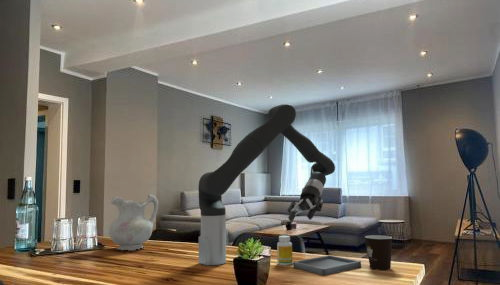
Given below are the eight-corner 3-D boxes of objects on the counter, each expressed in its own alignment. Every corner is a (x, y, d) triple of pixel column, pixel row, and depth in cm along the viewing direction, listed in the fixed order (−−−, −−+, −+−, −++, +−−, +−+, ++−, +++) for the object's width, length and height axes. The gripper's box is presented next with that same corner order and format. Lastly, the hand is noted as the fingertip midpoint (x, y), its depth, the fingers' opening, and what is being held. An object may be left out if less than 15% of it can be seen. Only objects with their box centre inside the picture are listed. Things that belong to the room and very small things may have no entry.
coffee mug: (396, 271, 114) (394, 239, 115) (368, 270, 115) (366, 238, 117) (389, 263, 125) (388, 234, 126) (364, 262, 127) (362, 234, 128)
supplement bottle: (275, 263, 129) (274, 235, 130) (288, 261, 131) (287, 234, 132) (281, 266, 124) (280, 237, 125) (295, 264, 126) (294, 236, 127)
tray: (323, 275, 111) (323, 269, 111) (293, 267, 122) (293, 261, 122) (361, 266, 121) (360, 261, 121) (329, 260, 132) (329, 255, 132)
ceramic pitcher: (147, 245, 180) (146, 195, 184) (165, 247, 165) (163, 192, 169) (103, 251, 166) (103, 197, 170) (118, 253, 151) (117, 194, 156)
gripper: (293, 187, 152) (279, 213, 141) (323, 182, 144) (311, 209, 132) (301, 201, 155) (288, 227, 143) (331, 196, 146) (320, 224, 134)
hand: (299, 219), depth 137 cm, fingers open, 8 cm apart
